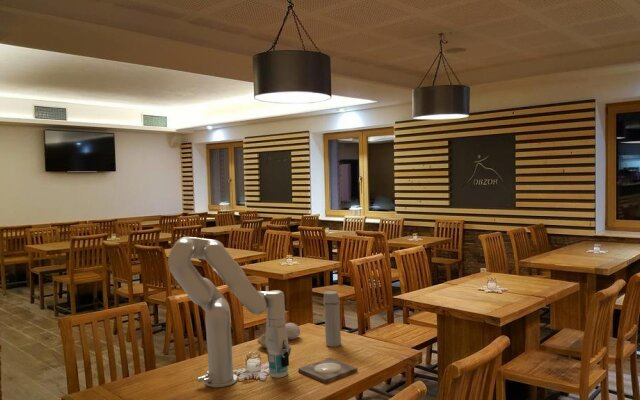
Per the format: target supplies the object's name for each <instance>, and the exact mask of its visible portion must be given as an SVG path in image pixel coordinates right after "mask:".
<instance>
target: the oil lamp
mask: <svg viewBox="0 0 640 400" xmlns="http://www.w3.org/2000/svg"><path fill="white" fill-rule="evenodd" d="M265 339H266V332H264V333H262V335H260V337H258V339H257V343H258V345H260V346H262V348H264V349H267V347H266V343H265Z"/></svg>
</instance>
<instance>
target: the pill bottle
mask: <svg viewBox="0 0 640 400" xmlns="http://www.w3.org/2000/svg"><path fill="white" fill-rule="evenodd" d="M283 349H284V348H283ZM283 353H285V351H283ZM268 356H269V361H268V369H269V376H270V377H271V378H277V379H278V378H279V379H280V378H283V377H286V376H287V375H288V374H289V373H288V372H289V370H288V369H289V366H286V367H282V362H281V357H282V355H281V353H280V352H276V351H274V350H272V349H269V350H268V351H267V357H268Z"/></svg>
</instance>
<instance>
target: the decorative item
mask: <svg viewBox="0 0 640 400" xmlns="http://www.w3.org/2000/svg"><path fill="white" fill-rule="evenodd" d="M285 326H286V330H287V336H288V340H295V339H297V338H298V337H299V336H300V334H301V329H300V327H299V326H298V325H297V324H296V323H294V322H286V325H285Z"/></svg>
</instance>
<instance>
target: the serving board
mask: <svg viewBox="0 0 640 400" xmlns="http://www.w3.org/2000/svg"><path fill="white" fill-rule="evenodd" d="M298 373H300V374H302V375H305V376H307V377H310V378H311V379H313V380H316V381H318V382H320V383H322V384H323V383H324V384H328V383H331V382H333V381H336V380H338V379H341V378H344V377H347V376H349V375H352V374H355V373H358V367H356V366H354V365H351V364H348V363H345V362H343V361H340V360H338V359H337V360H336V359H334V358H332V357H327V358H326V359H323V360H319V361H316V362H313V363H310V364H307V365H304V366H302V367H299V368H298Z"/></svg>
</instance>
